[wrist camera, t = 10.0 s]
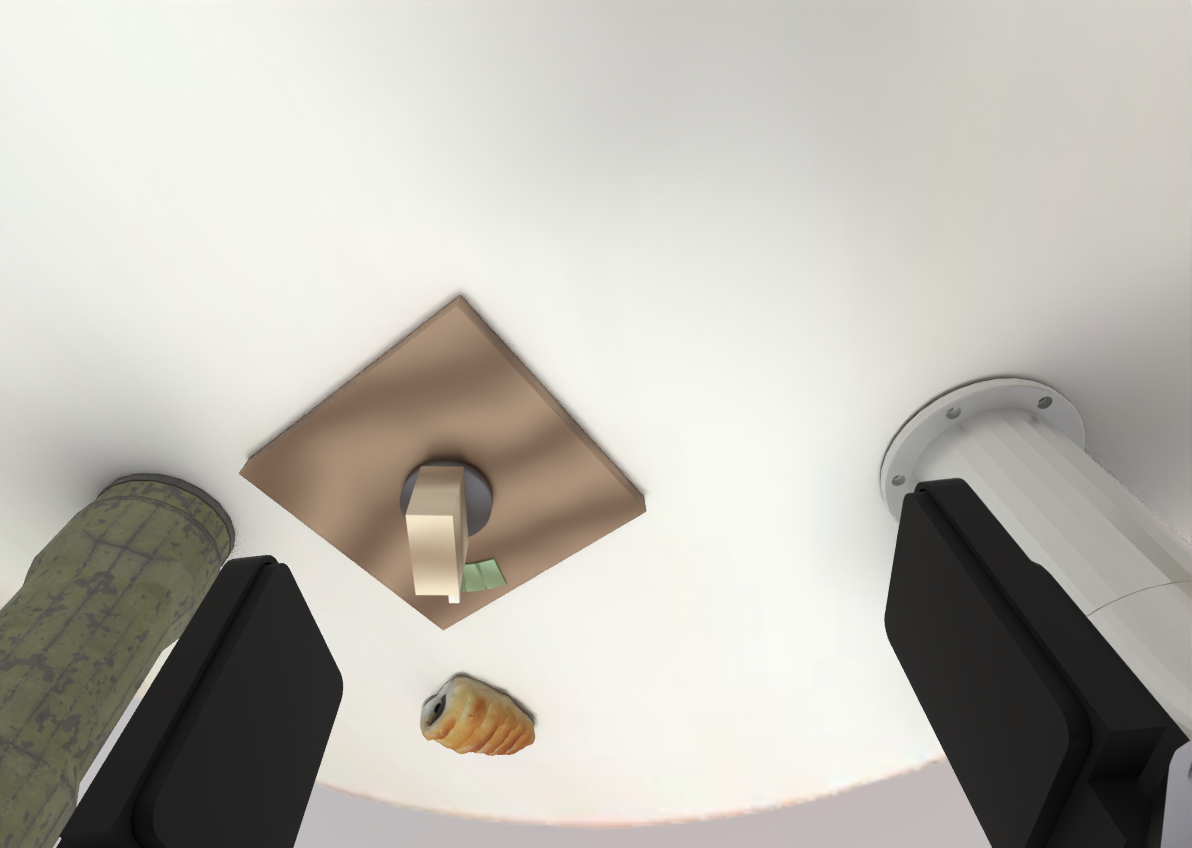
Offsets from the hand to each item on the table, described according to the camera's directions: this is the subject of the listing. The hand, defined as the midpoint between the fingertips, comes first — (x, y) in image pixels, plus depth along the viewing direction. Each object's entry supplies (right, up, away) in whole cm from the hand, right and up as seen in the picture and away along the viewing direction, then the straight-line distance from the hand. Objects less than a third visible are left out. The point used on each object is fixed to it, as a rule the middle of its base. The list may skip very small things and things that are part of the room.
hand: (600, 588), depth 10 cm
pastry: (-10, -21, +47) cm, 52 cm away
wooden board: (-9, -1, +34) cm, 35 cm away
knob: (-9, -4, +34) cm, 35 cm away
